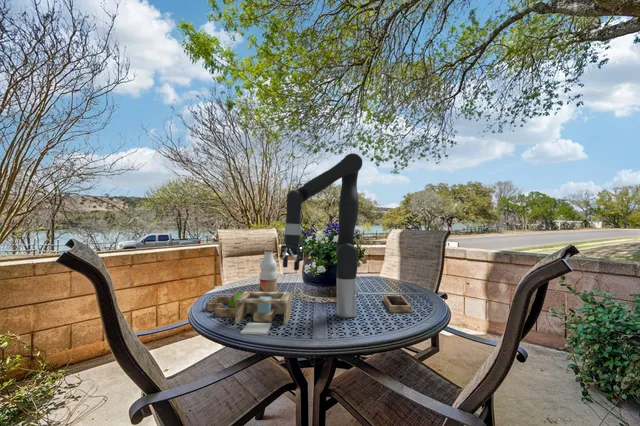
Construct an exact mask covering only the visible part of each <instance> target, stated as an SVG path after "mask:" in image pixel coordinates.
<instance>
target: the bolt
mask: <svg viewBox="0 0 640 426" xmlns="http://www.w3.org/2000/svg"><path fill="white" fill-rule="evenodd" d="M387 299H388V300H389V302H390V303H391V305H404V306H407V305H406V303H405V301H404V300H397V298H396V297H395V296H389V297H388V298H387Z"/></svg>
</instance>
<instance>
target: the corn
mask: <svg viewBox="0 0 640 426" xmlns="http://www.w3.org/2000/svg"><path fill="white" fill-rule="evenodd" d="M236 293H237V294H236V295H235V297H234V296H233V295H231V296H232V297H231V296H230V297H231V299H230V300H229V304H228V306H229V307H228V308H235V300H236V299H237V298H238V297H240V296H241V295H242V294H243V293H244V292H243V291H238V292H236ZM233 297H234V299H233ZM232 299H233V300H232Z"/></svg>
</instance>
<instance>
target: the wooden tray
mask: <svg viewBox="0 0 640 426" xmlns="http://www.w3.org/2000/svg"><path fill="white" fill-rule="evenodd" d="M389 296H395V297H396V298H397V300H404V301H405V303H406V305H407V306H404V305H391V303H390V302H389V300H388V299H387V298H388V297H389ZM383 303H384V304H385V306H386V308H387V310H388V311H389V313H412V305H411V304H410V303H409V302H408V301H407V300H406V298H405V297H404V296H403V295H398V294H397V295H391V294H389V295H387V294H386V295H385V294H384V295H383Z"/></svg>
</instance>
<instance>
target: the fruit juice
mask: <svg viewBox="0 0 640 426" xmlns="http://www.w3.org/2000/svg"><path fill="white" fill-rule="evenodd" d="M263 252H264V256H263V258H262V260H261V262H260V263H259V268H260V273H259V292H278V273H277V267H278V264H277V262H276V260H275V258H274V255H273V254H274V253H273V252H274V249H273V248H265V249H263Z"/></svg>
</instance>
